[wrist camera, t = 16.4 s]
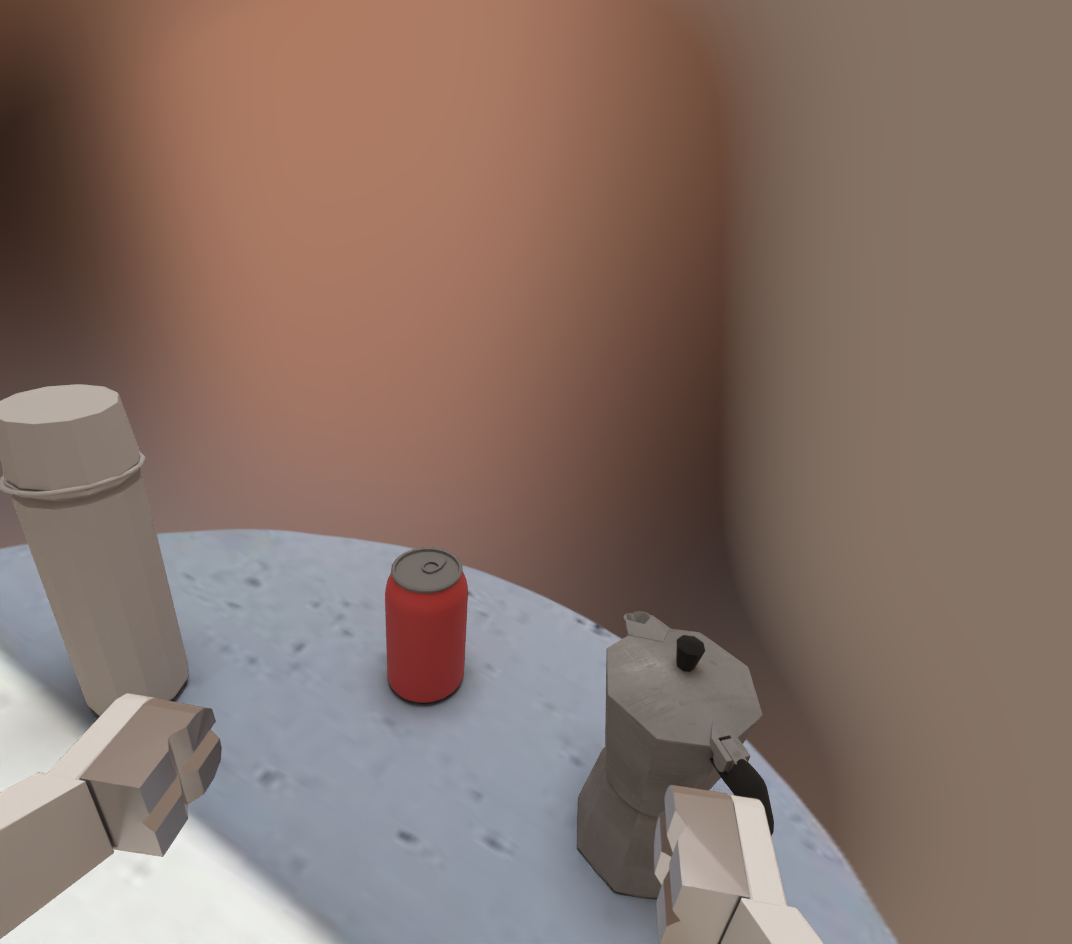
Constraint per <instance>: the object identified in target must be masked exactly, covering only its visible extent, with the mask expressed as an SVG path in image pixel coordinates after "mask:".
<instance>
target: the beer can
mask: <svg viewBox="0 0 1072 944" xmlns="http://www.w3.org/2000/svg"><path fill="white" fill-rule="evenodd" d="M467 601H468V586H467V581H466V578H465V575H464V573H463V570H462V563H461V562H460V560H459V559H458V558H457V557H456V556H455V555H454V554H452V553H450V552H448V551H445V550H443V549H438V548H419V549H413V550H410V551H408V552H405V553H403V554H402V555H401V556H399V557H398V558H397V559H396V560H395V561H394V563H393V564H392V568H391V574H390V576H389V578H388V581H387V585H386V591H385V611H386V642H387V674H388V680H389V683H390V686H391V687H392V689H393V690H394V691H395V692H396V693H397V694H398V695H399V696H401V697H403V698H405V699H406V700H409V701H413V702H418V703H427V702H434V701H437V700H441V699H443V698H445V697H447V696H448V695H450V694H451V693H453V692H454V691H455V689H456V688H457V687H458V686H459V685H460V683H461V681H462V678H463V676H464V661H465V641H466V621H467Z"/></svg>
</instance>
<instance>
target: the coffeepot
mask: <svg viewBox="0 0 1072 944" xmlns="http://www.w3.org/2000/svg"><path fill="white" fill-rule="evenodd" d="M624 619H625V624H626V629H627V634H628V636H627V637H625V638H623V639H622V640H620V641H619V642H617V643H615V644H614V645H612V646H610V647H609V648H607V664H606V728H605V748H604V749H603V750H602V751H601V753H600V755H599V757H598V759H597V761H596V763H595V765H594V767H593V769H592V771H591V773H590V775H589V777H588V779H587V781H586V783H585V785H584V787H583V789H582V791H581V793H580V795H579V797H578V817H577V847H578V848H579V850H580V851H581V852H582V854H583V855H584V856H585V858H586V859H587V860H588V862H589V863H590V865H591V866H592V868H593V869H594V870H595V872H596V873H597V874H598V875H599V876H600V877H601V878H602V879H603V880H604V881H606V882H607V883H608V884H609V885H610V886H611V887H612V889H613V890H614V891H615V892H620V893H624V894H628V895H632V896H636V897H640V898H658V896H659V892H660V889H661V886H662V885H661V883H660V882H659V880H658V878H657V877H656V875H655V871H654V840H655V832H656V825H657V821H658V817H659V814H660V813H662V812H663V811H665V799H664V797H665V794H666V791H667V788H668V787H669V786H670V785H675V786H682V787H688V788H695V789H702V790H709V789H710V788H711V787H712V786H713V785H714V784H715V783H716V782H717V781H718V780H719V779H720V777H721V778H722V779H723V781H724V782H725V783H726V784H727V786H728V787H729V788H730V790H731V791H732V792H733V794H734V795H735V796H740V797H747V798H754V799H758V800H760V801H761V803H762V804H763V806H764V808H765V813H766V817H767V821H768V826H769V830H770V834H771V836H772V834H773V830H774V820H773V815H772V810H771V805H770V800H769V795H768V791H767V787H766V784H765V782H764V780H763V779H762V778H761V776H760V775H759V774H758V772H757V771H756V770H755V769H754V768H753V767H752V766H751V765H750V764H749V763H748V760H749V758H750V755H749V753H748V752H747V750H746V749H745V747H744V746H743V743H744V741H745V740H746V738H747V737H748V735H749V734H750V732H751V731H752V729H753V727H754V726H755V725H756V723H757V722H758V720H759V719H760V718H761V717H762V712H761V708H760V705H759V702H758V699H757V695H756V692H755V688H754V685H753V682H752V678H751V675H750V672H749V668H748V667H747V666H746V665H745V664H743V663H742V662H740V661H739V660H738V659H736V658H735V657H733V656H732V655H731V654H729V653H728V652H726V651H725V650H724V649H722V648H721V647H719V646H718V645H717V644H715V643H714V642H712V641H711V640H709V639H708V638H707V637H706V636H704V635H703V634H701V633H699V632H691V631H683V630H675V629H670V628H669V627H667V626H666V625H665V624H663V623H662V622H661V621H659V620H658V619H657V618H655V617H654V616H650V615H649V614H647V613H646V612H634V613H631V614H630V613H627V614H626V615H624Z"/></svg>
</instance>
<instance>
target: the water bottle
mask: <svg viewBox="0 0 1072 944" xmlns="http://www.w3.org/2000/svg"><path fill="white" fill-rule="evenodd" d="M0 459H1V463H2V468H3V473H4V475H3V476H2V477H1V479H0V489H1V491H3V492H6V493H9V494H12V497H11V498H12V501H13V504H14V506H15V509H16V512H17V514H18V517H19V520H20V523H21V525H22V528H23V531H24V533H25V537H26V539H27V542H28V545H29V548H30V550H31V553H32V556H33V558H34V561H35V564H36V567H37V569H38V572H39V575H40V578H41V580H42V583H43V586H44V589H45V591H46V594H47V597H48V600H49V602H50V605H51V608H52V611H53V613H54V616H55V619H56V621H57V624H58V627H59V630H60V632H61V635H62V638H63V641H64V643H65V646H66V649H67V652H68V654H69V657H70V660H71V663H72V665H73V668H74V671H75V674H76V676H77V679H78V682H79V684H80V687H81V690H82V693H83V695H84V698H85V701H86V704H87V705H88V706H89V707H90V708H91V709H92V710H93V711H95V712H96V713H97V714H98V715H99V716H101V715H102V714H103V713H104V712H105V711H106V710H107V709H108V707H109V706H110V705H111V704H112V703H113V702H114V701H115V700H116V699H118V698H120V697H121V696H123V695H125V694H127V693H129V694H135V695H141V696H147V697H153V698H157V699H162V700H168V701H170V700H171V699H173V698H174V697H175V696H176V694H177V693H178V691H179V690H180V689H181V687H182V686H183V684H184V683H185V681H186V680H187V678H188V664H187V658H186V654H185V650H184V646H183V641H182V637H181V633H180V629H179V625H178V621H177V617H176V613H175V608H174V604H173V600H172V596H171V592H170V588H169V584H168V580H167V575H166V571H165V567H164V563H163V559H162V555H161V551H160V546H159V542H158V538H157V534H156V530H155V526H154V522H153V518H152V513H151V510H150V505H149V501H148V497H147V493H146V489H145V485H144V480H143V476H142V472H141V468H140V467H141V466H142V465H143V463H144V460H145V456H144V455H142V454H141V453H140V452H139V448H138V445H137V443H136V440H135V437H134V434H133V432H132V429H131V426H130V423H129V421H128V418H127V416H126V413H125V411H124V408H123V405H122V402H121V399H120V397H119V394H118V393H117V392H114V391H112V390H110V389H108V388H106V387H101V386H90V385H66V386H65V385H64V386H50V387H44V388H39V389H35V390H30V391H26V392H22V393H17V394H15V395H13V396H11V397H8V398H6V399H4V400H2V401H0Z"/></svg>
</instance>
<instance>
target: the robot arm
mask: <svg viewBox="0 0 1072 944" xmlns="http://www.w3.org/2000/svg"><path fill="white" fill-rule="evenodd" d="M215 722H216V721H215V717H214V714H213V710H212V709H211V708H206V707H200V706H195V705H189V704H184V703H179V702H173V701H168V700H162V699H157V698H153V697H147V696H141V695H135V694H129V693H127V694H125V695H123V696H121V697H120V698H118V699H116V700H115V701H114V702H113V703H112V704H111V705H110V706H109V707H108V709H107V710H106V711H105V712H104V713H103V714H102V715H101V716H100V717H99V718H98V719H97V720H96V721H95V722H94V724H93V725H92V726H91V727H90V728H89V729H88V730H87V731H86V732H85V733H84V734H83V735H82V736H81V738H80V739H79V740H78V741H77V742H76V743H75V744H74V745H73V746H72V747H71V748H70V749H69V750H68V751H67V753H66V754H65V755H64V756H63V757H62V758H61V759H60V760H59V761H58V762H57V763H56V764H55V765H54V767H53V768H52V769H51V770H50V771H49V772H48V773H47V774H46V773H39V772H38V773H37V774H35V775H33V776H31V777H29V778H27V779H25V780H23V781H21V782H19V783H18V784H16V785H14V786H12V787H10V788H8V789H6V790H4V791H2V792H0V939H1V938H2V937H4V936H5V935H6V934H8V933H9V932H10V931H12V930H13V929H14V928H16V927H17V926H18V925H19V924H21V923H22V922H23V921H25V920H26V919H27V918H29V917H30V916H31V915H33V914H34V913H35V912H37V911H38V910H39V909H41V908H42V907H43V906H44V905H46V904H47V903H48V902H50V901H51V900H52V899H54V898H55V897H56V896H58V895H59V894H60V893H62V892H63V891H64V890H66V889H67V888H68V887H70V886H71V885H72V884H73V883H75V882H76V881H77V880H79V879H80V878H81V877H83V876H84V875H85V874H87V873H88V872H89V871H91V870H92V869H93V868H95V867H96V866H97V865H98V864H100V863H101V862H102V861H104V860H105V859H106V858H108V857H109V856H110V855H112V854H113V853H114V850H121V851H128V852H134V853H141V854H147V855H154V856H160V857H163V856H164V855H165V853H166V852H167V850H168V848H169V847H170V845H171V844H172V842H173V841H174V839H175V838H176V836H177V835H178V833H179V832H180V830H181V829H182V827H183V826H184V824H185V823H186V821H187V819H188V804H189V803H191V802H192V801H194V800H195V799H197V798H198V797H200V796H202V795H203V794H204V793H205V792H206V790H207V788H208V787H209V785H210V784H211V782H212V780H213V779H214V777H215V774H216V771H217V769H218V766H219V763H220V760H221V749H222V747H221V743H220V738H219V737H218V736H217V735H216V734H215V733H214V732H213V731H212V730H211V727H212V726H213V725H214V723H215ZM664 799H665V811H663V812H662V813H660V814H659V817H658V821H657V825H656V832H655V840H654V871H655V875H656V877H657V878H658V880H659V882H660V883H661V885H662V886H661V889H660V892H659V896H658V899H657V902H656V910H657V927H658V944H823V942H822V941H821V940H820V938H819V937H818V936H817V934H816V933H815V932H814V930H813V929H812V928H811V926H810V925H809V924H808V922H807V921H806V920H805V918H804V917H803V916H802V914H801V913H800V912H799V910H798V909H797V908H795V907H790V906H787V903H786V899H785V895H784V890H783V886H782V882H781V877H780V873H779V869H778V865H777V860H776V856H775V852H774V847H773V843H772V839H771V834H770V830H769V826H768V821H767V817H766V813H765V808H764V806H763V804H762V803H761V801H760V800H758V799H754V798H747V797H740V796H733V795H728V794H727V793H721V792H715V791H708V790H702V789H695V788H688V787H682V786H675V785H670V786H669V787H668V788H667V791H666V794H665V797H664ZM113 849H114V850H113Z"/></svg>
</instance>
